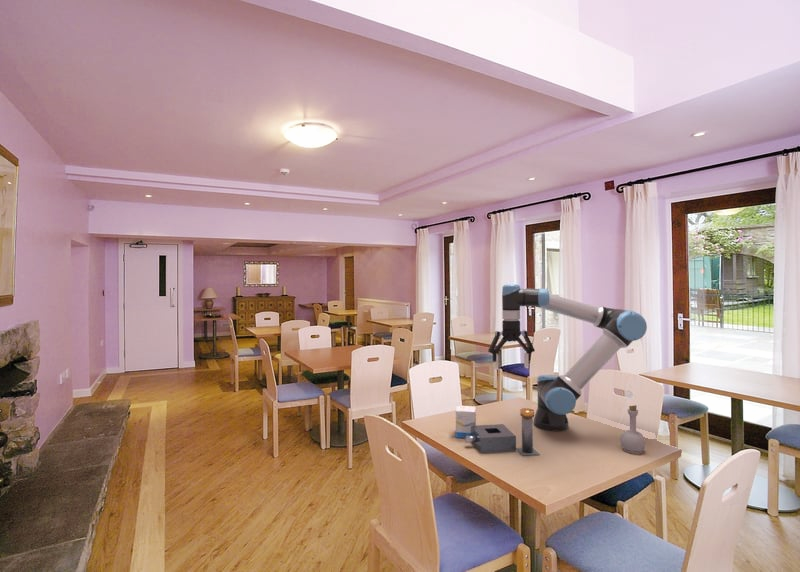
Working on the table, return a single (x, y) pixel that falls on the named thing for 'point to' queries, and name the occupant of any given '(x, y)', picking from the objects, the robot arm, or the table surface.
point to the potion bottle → (632, 435)
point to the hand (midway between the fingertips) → (511, 368)
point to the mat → (527, 453)
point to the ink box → (465, 420)
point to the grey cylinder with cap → (527, 429)
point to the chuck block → (492, 438)
